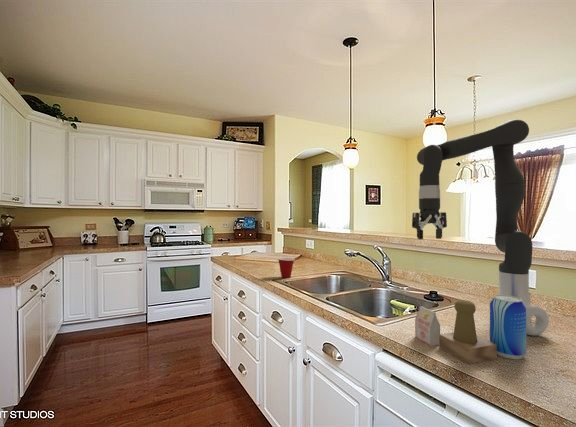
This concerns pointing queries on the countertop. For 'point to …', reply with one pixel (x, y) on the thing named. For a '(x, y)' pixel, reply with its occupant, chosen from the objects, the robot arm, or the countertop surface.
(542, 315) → the donut
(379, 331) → the countertop surface
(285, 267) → the plastic cup
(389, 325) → the countertop surface
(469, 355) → the walnut base
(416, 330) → the white tall box
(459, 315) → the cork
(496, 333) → the beer can
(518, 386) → the countertop surface
